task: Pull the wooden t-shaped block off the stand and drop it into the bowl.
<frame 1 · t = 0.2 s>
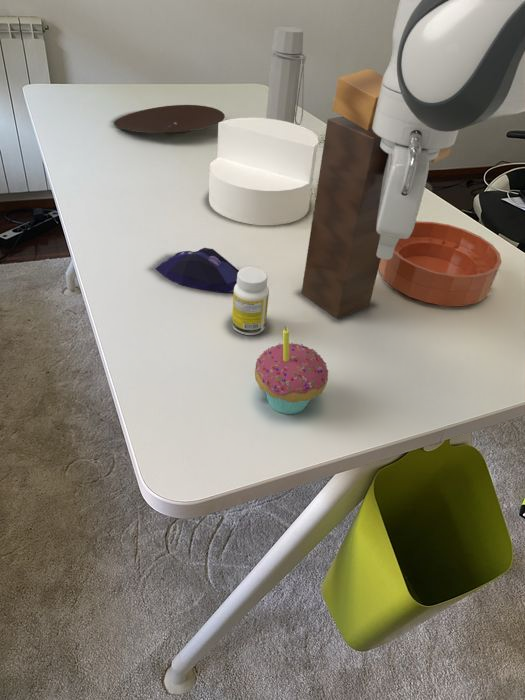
hand: (385, 237, 66), 16 cm above the table, tool pointing down, fingers open, 8 cm apart
stand: (335, 299, 85), on the table
computer mouse: (204, 275, 87), on the table
plate: (170, 127, 142), on the table
white stepped cylinder: (259, 203, 110), on the table
cupcake: (286, 400, 66), on the table
bowl: (432, 279, 92), on the table
supplement bottle: (248, 327, 77), on the table
water bottle: (281, 142, 140), on the table
wooden t-shaped block: (388, 129, 66), point 26 cm above the table, tilted 10°, touching arm, stand
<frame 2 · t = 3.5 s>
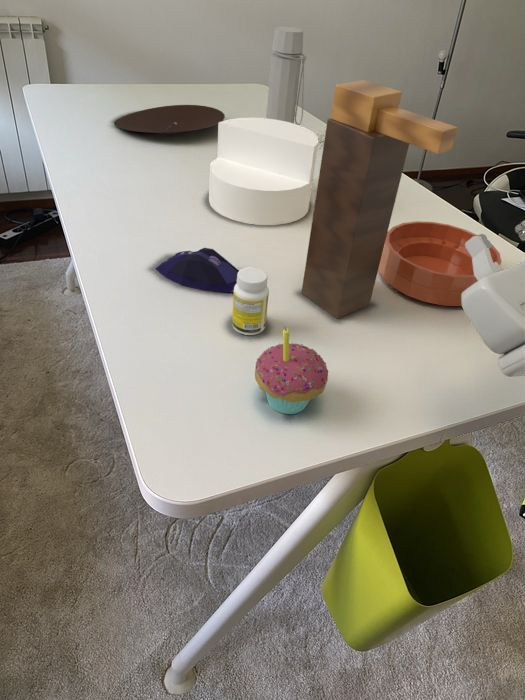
hand: (498, 229, 60), 21 cm above the table, tool pointing upward, fingers open, 8 cm apart
wooden t-shaped block: (388, 131, 67), point 26 cm above the table, touching stand
everything else where it was.
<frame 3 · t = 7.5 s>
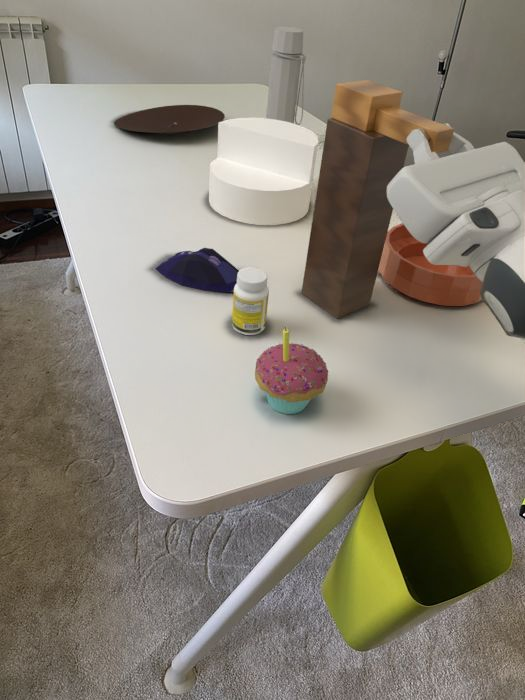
hand: (426, 130, 62), 28 cm above the table, tool pointing upward, fingers closed on wooden t-shaped block, 3 cm apart
wooden t-shaped block: (386, 131, 67), point 26 cm above the table, touching gripper, stand
everything else where it was.
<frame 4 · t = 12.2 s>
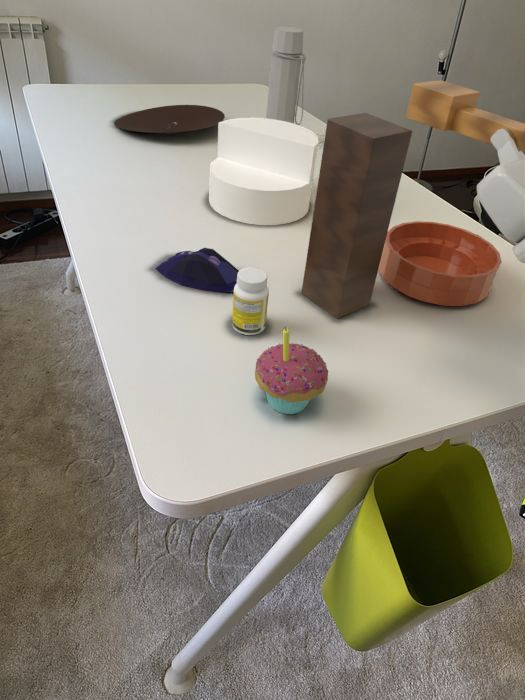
hand: (508, 130, 63), 28 cm above the table, tool pointing upward, fingers closed on wooden t-shaped block, 3 cm apart
wooden t-shaped block: (464, 131, 67), point 27 cm above the table, touching gripper
everything else where it was.
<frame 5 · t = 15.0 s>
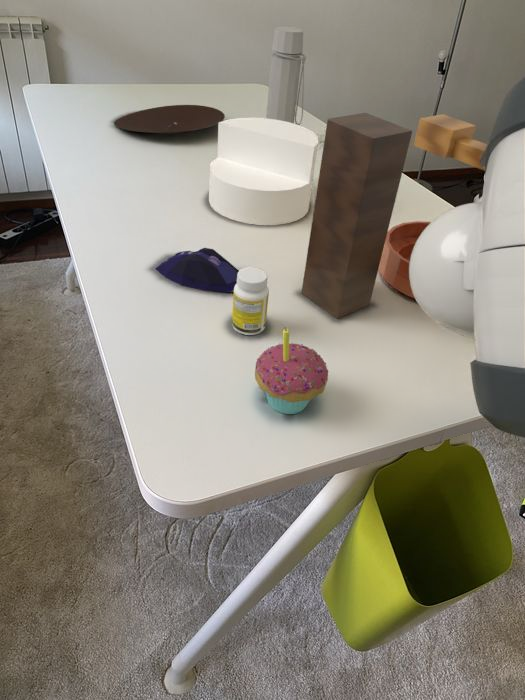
hand: (498, 158, 76), 22 cm above the table, tool pointing upward, fingers closed on wooden t-shaped block, 3 cm apart
wooden t-shaped block: (462, 158, 80), point 20 cm above the table, touching gripper
everything else where it was.
when the fingers open (15 cm above the table, at t = 17.2 s): wooden t-shaped block drops 10 cm, resting on bowl.
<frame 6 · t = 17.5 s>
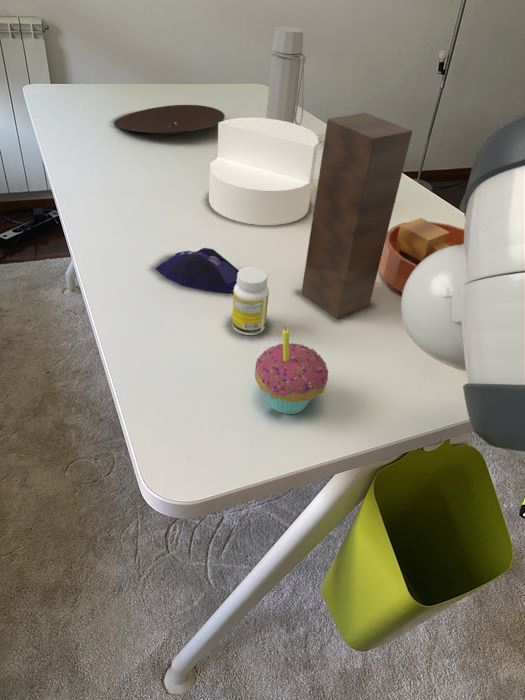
hand: (484, 201, 80), 15 cm above the table, tool pointing upward, fingers open, 6 cm apart
wooden t-shaped block: (438, 260, 90), point 3 cm above the table, touching bowl
everything else where it was.
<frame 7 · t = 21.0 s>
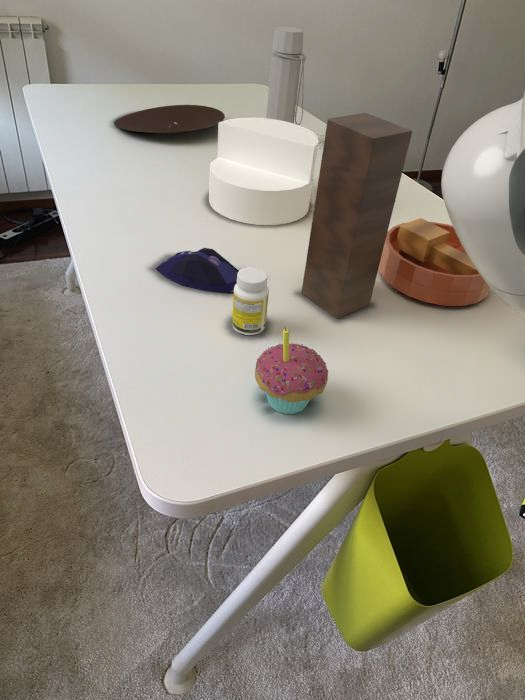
nothing on the table moved.
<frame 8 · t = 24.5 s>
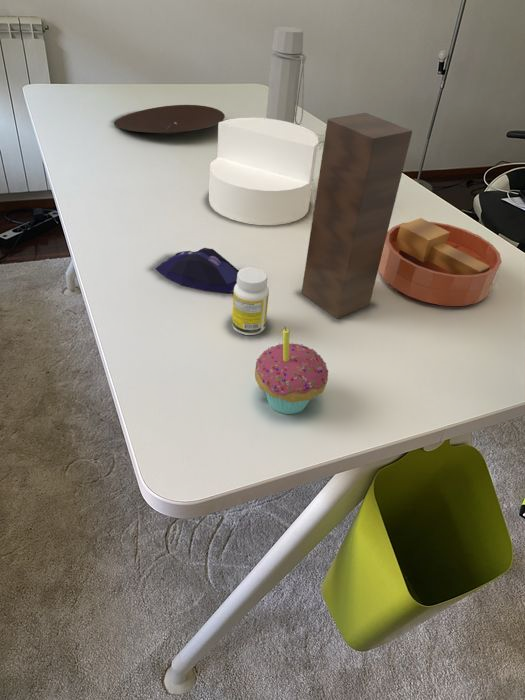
nothing on the table moved.
at the end: wooden t-shaped block inside the target area in the bowl (0.2 cm from its centre), point 3.4 cm above the bowl's base; the gripper is holding nothing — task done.
